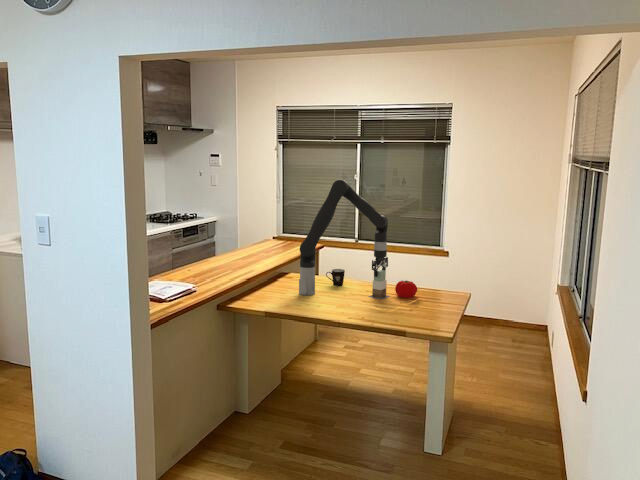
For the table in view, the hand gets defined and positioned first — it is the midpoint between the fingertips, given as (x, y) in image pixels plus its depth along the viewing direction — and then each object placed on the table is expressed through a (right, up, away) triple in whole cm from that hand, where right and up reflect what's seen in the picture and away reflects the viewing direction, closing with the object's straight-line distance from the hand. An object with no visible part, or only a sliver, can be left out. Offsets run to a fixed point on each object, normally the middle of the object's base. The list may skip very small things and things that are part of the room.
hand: (379, 275), depth 319 cm
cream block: (0, -8, +1) cm, 8 cm away
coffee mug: (-25, -9, +33) cm, 42 cm away
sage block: (0, -3, 0) cm, 3 cm away
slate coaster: (0, -14, +2) cm, 14 cm away
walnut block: (0, -13, +2) cm, 13 cm away
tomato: (+16, -14, +3) cm, 21 cm away
